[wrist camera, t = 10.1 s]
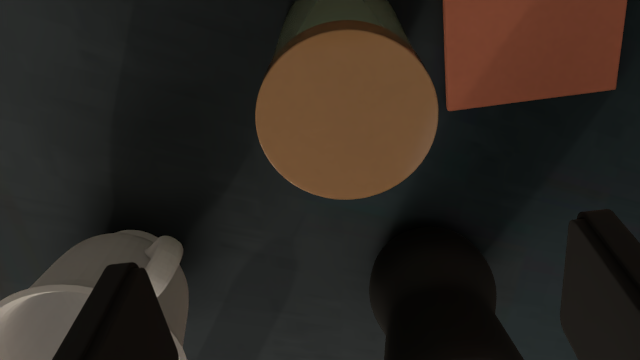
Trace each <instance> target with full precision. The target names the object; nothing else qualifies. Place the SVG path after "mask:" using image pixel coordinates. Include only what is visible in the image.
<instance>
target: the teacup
mask: <svg viewBox="0 0 640 360" xmlns="http://www.w3.org/2000/svg"><path fill="white" fill-rule="evenodd" d="M182 256H183V247H182V245H181V243H180V242H179V241H177V240H176V239H175V238H173V237H170V236H161V237H159V238H158V237H156V236H154V235H152V234H150V233H147V232H144V231H139V230H123V231H119V232H116V233H108V234H102V235H98V236H94V237H91V238H89V239H86V240H84V241H82V242H80V243H79V244H77V245H75V246H74V247H72V248H71V249H69V250H68V251H67V252H66V253H65V254H63V255H62V256H61V257H60V258H59V259H58V260H56V261H55V263H54V264H53V265H52V266H51V267H50V268H49V269H48V270H47V271H46V272H45V273H44V274H43V275H42V276H41V277H40V278H39V279H38V280H37V281H36V282H35V283H34V284H33V285H32V286H31V287H30V288H29V289H26V290H22V291H20V292H17V293H15V294H12V295H10V296H8V297H7V298H5V299H3V300H2V301H0V360H52V359H53V357H54V355H55V354H56V352H57V350H58V348H59V347H60V345H61V343H62V342H63V340H64V338H65V336H66V335H67V333H68V331H69V330H70V328H71V326H72V324H73V323H74V321H75V319H76V317H77V316H78V314H79V312H80V311H81V309H82V307H83V305H84V304H85V302H86V300H87V299H88V297H89V295H90V293H91V292H92V290H93V288H94V287H95V285H96V283H97V281H98V280H99V278H100V276H101V275H102V273H103V271H104V269H105V268H106V267H107V266H108V265H111V264H119V263H128V262H134V263H136V264H137V265H138V267H139V268H141V267H142V268H144V269H145V270H146V271H147V273H148V276H149V279H150V281H151V284H152V286H153V289H154V291H155V294H156V296H157V299H158V302H159V304H160V307H161V309H162V312H163V314H164V317H165V319H166V322H167V325H168V327H169V330H170V332H171V335H172V337H173V340H174V343H175V345H176V348H177V350H178V355H179V360H187V359H186V356H185V353H184V351H183V348H182V346H183V340H184V334H185V328H186V321H187V315H188V304H189V293H188V285H187V280H186V278H185V275H184V272H183V270H182V268H181V267H180V265H179V263H180V261H181V259H182Z"/></svg>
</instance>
